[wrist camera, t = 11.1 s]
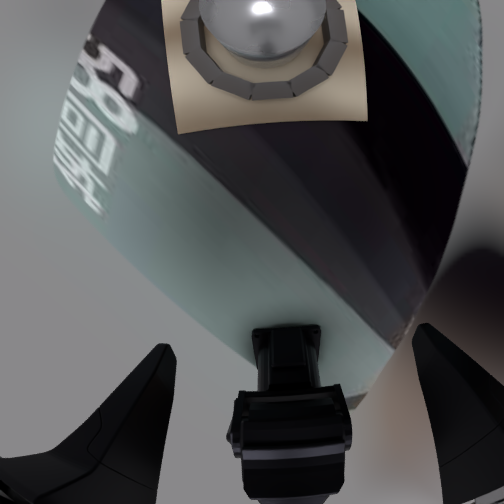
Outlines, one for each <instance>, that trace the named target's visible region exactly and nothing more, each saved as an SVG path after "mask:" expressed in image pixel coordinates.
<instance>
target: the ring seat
mask: <svg viewBox="0 0 504 504" xmlns="http://www.w3.org/2000/svg"><path fill="white" fill-rule="evenodd" d="M161 1H162V13H163V24H164V34H165V43H166V52H167V61H168V69H169V76H170V84H171V91H172V98H173V105H174V111H175V118H176V124H177V130H178V134H183V133H189V132H195V131H201V130H208V129H214V128H222V127H230V126H238V125H248V124H259V123H271V122H287V121H314V120H349V121H367V95H366V79H365V67H364V57H363V47H362V39H361V32H360V25H359V18H358V12H357V7H356V1H355V0H326V12H325V16H324V19H323V22H322V24H321V26H320V27H319V28H318V30H317V31H316V32H315V34H314V35H313V36H312V38H311V39H310V40H309V42H308V43H307V44H306V46H305V47H304V48H303V50H302V51H301V52H300V54H299V55H298V56H297V57H296V58H294V59H293V60H292V61H290V62H289V63H287V64H285V65H282V66H279V67H275V68H268V69H261V68H254V67H250V66H247V65H245V64H243V63H241V62H239V61H238V60H236V59H235V58H234V57H232V56H231V54H230V53H229V52H228V51H227V50H226V49H225V48H224V47H223V45H222V44H221V43H220V42H219V41H218V40H217V39H216V38H215V37H214V35H213V34H212V33H211V32H210V31H209V30H208V29H207V27H206V26H205V24H204V22H203V20H202V18H201V15H200V10H199V0H161Z"/></svg>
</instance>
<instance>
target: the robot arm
mask: <svg viewBox="0 0 504 504" xmlns="http://www.w3.org/2000/svg"><path fill="white" fill-rule="evenodd" d="M315 330H316V331H315ZM256 334H258V335H256ZM320 337H321V329H320V326H318V325H314V326H302V327H289V328H274V329H256V330H253V331H252V341H253V347H254V353H255V360H256V366H257V369H258V391H253V392H252V391H239V394H238V398H236V400H235V401H234V412H233V417H232V420H231V424H230V426H229V429H228V433H227V436H226V439H227V441H228V442H229V443H230V444H231V445H232V449H233V452H234V456H235V458H241V463H242V480H243V483H244V490H245V492H246V494H247V495H248V497H249V498H250V499H251V500H258V501H259V503H260V504H323V503H324V502H325V501H326V499H327V498H328V497H329V495H332V494H337V493H338V492H339V491H340V489H341V487H342V485H343V483H344V466H345V451H347V450H349V449H350V447H351V444H352V424H351V418H350V414H349V411H348V408H347V405H346V401H345V398H344V395H343V392H342V389H341V386H340V384H334V385H333V386H325V387H321V384H320V376H319V369H318V355H319V346H320ZM412 347H413V351H414V356H415V361H416V366H417V372H418V376H419V381H420V385H421V388H422V392H423V395H424V399H425V403H426V407H427V411H428V415H429V419H430V423H431V428H432V432H433V437H434V442H435V447H436V453H437V458H438V464H439V472H440V479H441V487H442V495H443V504H462V503H465V502H467V501H470V500H473V499H475V502H473V503H471V504H504V386H503V385H502V384H501V383H500V382H499V381H497V380H496V379H495V378H494V377H493V376H492V375H490V374H489V373H488V372H487V371H486V370H485V369H484V368H482V367H481V366H480V365H479V364H478V363H477V362H476V361H474V360H473V359H472V358H471V357H470V356H469V355H467V354H466V353H465V352H464V351H463V350H461V349H460V348H459V347H458V346H456V345H455V344H454V343H453V342H452V341H450V340H449V339H448V338H447V337H446V336H444V335H443V334H442V333H441V332H439V331H438V330H437V329H436V328H434V327H433V326H432V325H431V324H429V323H424V324H420V325H418V327H417V329H416V331H415V334H414V336H413V339H412ZM176 365H177V360H176V356H175V354H174V352H173V350H172V348H171V346H170V345H169V344H164V343H159V344H157V345H156V346H155V347H154V348H153V349H152V350H151V352H150V353H149V354H148V355H147V356H146V357H145V358H144V359H143V360H142V361H141V362H140V363H139V364H138V365H137V367H136V368H135V369H134V370H133V371H132V372H131V373H130V374H129V375H128V376H127V377H126V378H125V379H124V381H123V382H122V383H121V384H120V385H119V386H118V387H117V388H116V389H115V390H114V391H113V393H111V394H110V396H109V397H108V398H107V399H106V400H105V401H104V402H103V403H102V404H101V405H100V408H97V409H96V410H95V412H94V413H93V414H92V415H91V416H90V417H89V418H88V419H87V420H86V421H85V422H84V423H83V424H82V425H81V426H79V427H78V428H77V429H76V430H75V431H74V432H73V433H72V434H70V435H69V436H68V437H67V438H66V439H65V440H63V441H62V442H61V443H60V444H59V445H58V446H56V447H55V448H54V449H52V450H50V451H47V452H44V453H39V454H33V455H27V456H21V457H14V458H2V457H0V504H155V503H156V497H157V489H158V483H159V476H160V470H161V464H162V458H163V452H164V446H165V440H166V435H167V430H168V424H169V419H170V414H171V409H172V404H173V397H174V386H175V375H176Z"/></svg>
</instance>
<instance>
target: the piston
mask: <svg viewBox="0 0 504 504" xmlns="http://www.w3.org/2000/svg"><path fill="white" fill-rule="evenodd" d="M199 10H200V15H201V18H202V20H203V22H204V24H205V26H206V27H207V29H208V30H209V31H210V32H211V33H212V34H213V35H214V37H215V38H216V39H217V40H218V41H219V42H220V43H221V44H222V45H223V47H224V48H225V49H226V50H227V51H228V52H229V53H230V54H231V56H232V57H234V58H235V59H236V60H238V61H239V62H241V63H243V64H245V65H247V66H250V67H254V68H261V69H268V68H275V67H279V66H282V65H285V64H287V63H289V62H290V61H292V60H293V59H294V58H296V57H297V56H298V55H299V54H300V52H301V51H302V50H303V48H304V47H305V46H306V44H307V43H308V42H309V40H310V39H311V38H312V36H313V35H314V34H315V32H316V31H317V30H318V28H319V27H320V26H321V24H322V22H323V19H324V16H325V12H326V0H199Z"/></svg>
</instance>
